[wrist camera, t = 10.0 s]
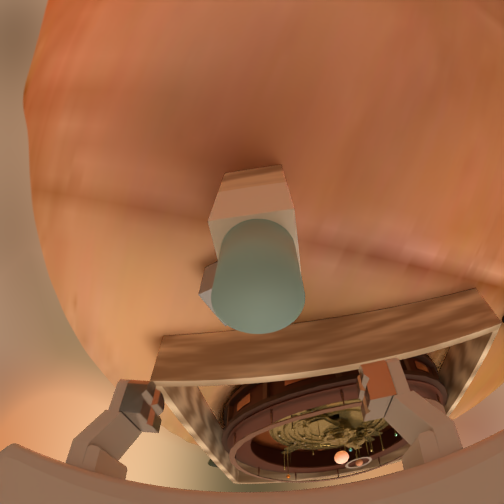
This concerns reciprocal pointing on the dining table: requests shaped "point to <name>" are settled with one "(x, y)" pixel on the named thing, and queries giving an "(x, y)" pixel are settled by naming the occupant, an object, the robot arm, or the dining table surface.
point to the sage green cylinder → (258, 278)
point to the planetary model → (316, 422)
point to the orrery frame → (321, 362)
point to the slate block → (208, 285)
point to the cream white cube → (252, 210)
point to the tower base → (252, 178)
